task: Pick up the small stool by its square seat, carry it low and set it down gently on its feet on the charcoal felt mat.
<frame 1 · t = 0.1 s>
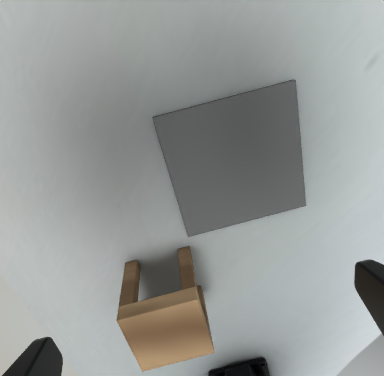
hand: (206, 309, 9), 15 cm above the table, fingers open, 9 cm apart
stool: (166, 278, 26), on the table
mat: (235, 164, 23), on the table
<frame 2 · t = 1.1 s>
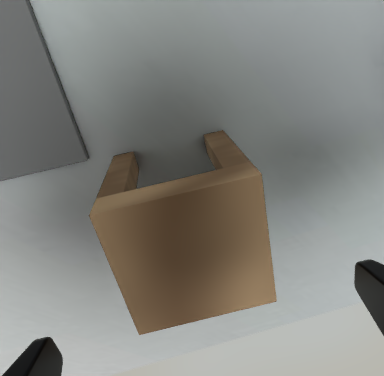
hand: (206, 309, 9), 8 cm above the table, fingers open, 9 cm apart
stool: (180, 192, 16), on the table
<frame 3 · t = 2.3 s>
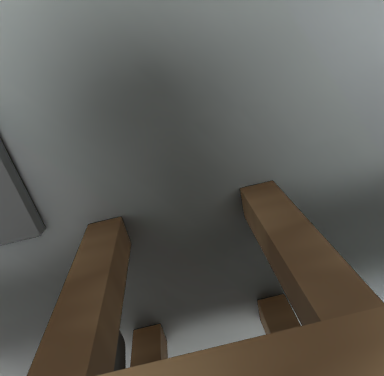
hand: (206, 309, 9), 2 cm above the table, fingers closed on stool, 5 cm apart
stool: (199, 274, 10), on the table, touching gripper
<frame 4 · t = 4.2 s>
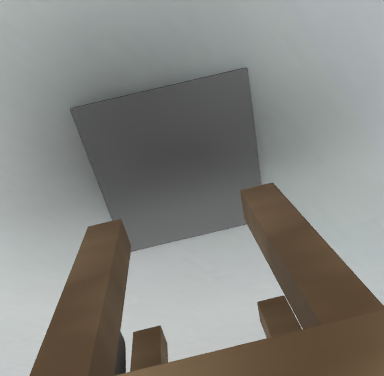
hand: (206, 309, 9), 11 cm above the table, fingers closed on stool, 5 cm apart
stool: (199, 276, 10), point 10 cm above the table, touching gripper
mat: (178, 168, 19), on the table
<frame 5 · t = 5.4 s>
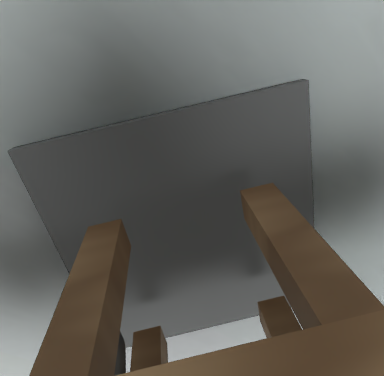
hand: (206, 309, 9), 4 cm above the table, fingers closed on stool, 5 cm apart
stool: (199, 276, 10), point 2 cm above the table, touching gripper
mat: (189, 234, 12), on the table
when the fingers open (3 cm above the table, at t = 6.1 s): stool stays where it is, resting on mat.
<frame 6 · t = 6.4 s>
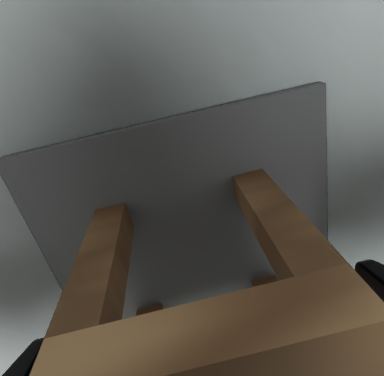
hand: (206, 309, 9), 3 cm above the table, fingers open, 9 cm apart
stool: (196, 256, 11), resting on mat
mat: (193, 249, 11), on the table
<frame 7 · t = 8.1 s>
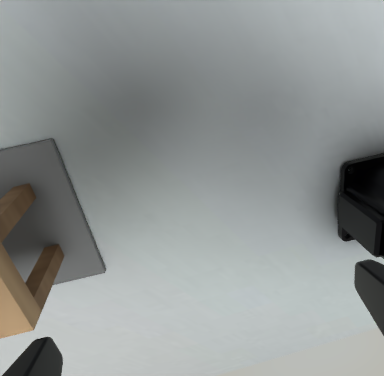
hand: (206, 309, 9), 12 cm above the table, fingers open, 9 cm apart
stool: (4, 232, 19), resting on mat
mat: (6, 228, 19), on the table
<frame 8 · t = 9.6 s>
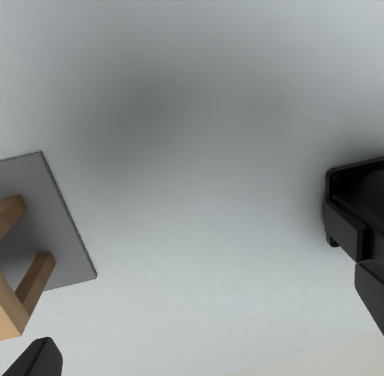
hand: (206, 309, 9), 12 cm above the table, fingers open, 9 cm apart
mat: (0, 236, 20), on the table
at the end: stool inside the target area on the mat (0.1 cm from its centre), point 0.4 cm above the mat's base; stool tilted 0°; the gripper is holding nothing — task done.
